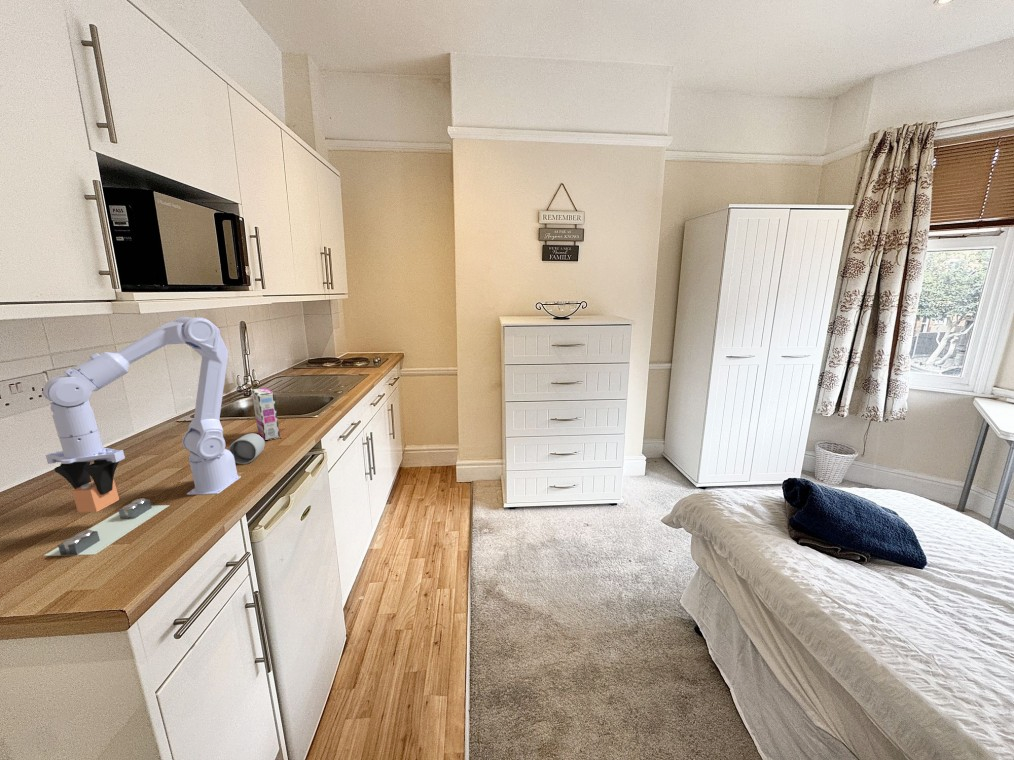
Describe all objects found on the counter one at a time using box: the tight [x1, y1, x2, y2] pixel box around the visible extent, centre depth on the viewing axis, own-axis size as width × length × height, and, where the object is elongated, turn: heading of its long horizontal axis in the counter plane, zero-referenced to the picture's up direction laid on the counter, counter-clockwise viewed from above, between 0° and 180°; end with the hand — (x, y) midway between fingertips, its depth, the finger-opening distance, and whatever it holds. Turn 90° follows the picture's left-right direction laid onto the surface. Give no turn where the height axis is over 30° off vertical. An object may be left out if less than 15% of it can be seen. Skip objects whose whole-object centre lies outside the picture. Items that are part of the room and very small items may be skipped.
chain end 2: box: [117, 497, 153, 519], centre depth 92 cm, size 5×3×2 cm
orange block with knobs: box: [71, 478, 120, 513], centre depth 86 cm, size 5×4×6 cm
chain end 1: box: [57, 529, 100, 556], centre depth 80 cm, size 5×3×2 cm
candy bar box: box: [251, 387, 281, 441], centre depth 140 cm, size 11×5×16 cm, turn 42°
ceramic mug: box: [227, 432, 266, 465], centre depth 121 cm, size 11×8×8 cm
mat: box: [43, 504, 170, 557], centre depth 87 cm, size 18×10×1 cm, turn 0°
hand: (96, 492), depth 86 cm, fingers closed on orange block with knobs, 4 cm apart
